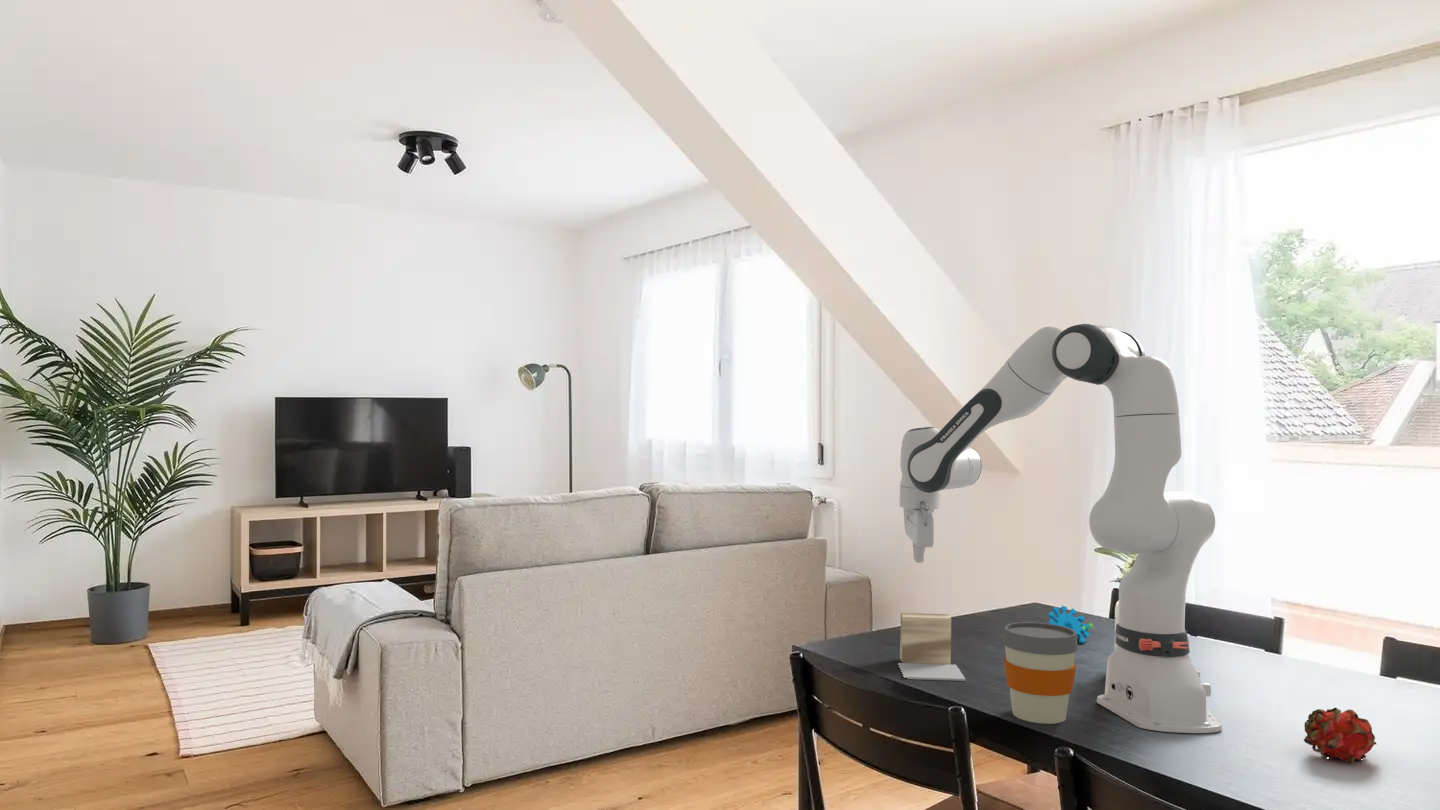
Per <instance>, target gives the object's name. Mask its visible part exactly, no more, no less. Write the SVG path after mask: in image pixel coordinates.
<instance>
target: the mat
mask: <svg viewBox="0 0 1440 810" xmlns="http://www.w3.org/2000/svg"><path fill="white" fill-rule="evenodd" d="M898 665H899V666H898ZM897 666H898V668H900V669H899V671H900V670H901V671H900V672H902V673H901V675H902V674H903V675H902V677H904V678H907V679H906V680H924V681H925V680H927V681H928V680H929V681H952V682H955V681H957V682H966V681H967V680H966V678H965V676H964V674H963V673H962V671H961V669H960V668H959V667H958V665H957V664H952V663H951V664H919V663H901V662H898V663H897ZM904 678H903V679H904Z"/></svg>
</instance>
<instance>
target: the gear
mask: <svg viewBox="0 0 1440 810" xmlns="http://www.w3.org/2000/svg"><path fill="white" fill-rule="evenodd" d="M1067 610H1068V607H1067V606H1065V605H1062V606H1060V608H1059V607H1058V606H1054V607H1053V608H1052V610H1051V611H1050V612H1048V614H1047V617H1048V618H1049V620H1048V622H1047V624H1054V625H1059V626H1063V627H1067V628H1070V629H1072V630H1074V631H1075V632H1076V634H1077V639H1078V642H1079V644H1084V643H1086V641H1087V640H1086V639H1087V638H1089V637H1090V635H1091V633H1090V632H1089V631H1090V630H1091V629H1092V628H1093V626H1094V625H1093V623H1092V622H1089V623H1083V622H1084V621H1085V620H1086V619H1085V617H1084V616H1083V615H1079V616H1075V615H1076V614H1077V611H1076V610H1075V609H1074V608H1071V610H1070V611H1069V613H1067V612H1066V611H1067ZM1059 611H1061V613H1060V612H1059Z"/></svg>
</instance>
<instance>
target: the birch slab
mask: <svg viewBox="0 0 1440 810" xmlns="http://www.w3.org/2000/svg"><path fill="white" fill-rule="evenodd" d="M899 630H900V634H899V635H900V636H899V637H900V638H899V640H900V641H899V644H900V646H899V647H900V648H899V660H900V659H901V660H900V662H901V661H902V663H919V664H951V665H952V663H951V661H952V617H951V616H950V614H948V613H921V612H919V613H918V612H917V613H916V612H915V613H914V612H900V629H899Z"/></svg>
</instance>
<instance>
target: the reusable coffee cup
mask: <svg viewBox="0 0 1440 810" xmlns="http://www.w3.org/2000/svg"><path fill="white" fill-rule="evenodd" d="M1003 628H1004V629H1003V636H1002V637H1003V638H1002V644H1003V646H1004V650H1005V657H1004V658H1003V662H1004V670H1005V671H1004V672H1005V680H1006V685H1007V686H1008V688H1009V695H1010V703H1011V711H1012V712H1011V713H1012V714H1013V716H1014V717H1016V718H1018V719H1019V720H1023V721H1025V722H1030V723H1036V724H1047V725H1049V724H1060V723H1063V722H1065V721H1066V719H1067V715H1068V714H1067V712H1068V707H1069V701H1070V699H1069V698H1070V694H1071V693H1072V692H1073V688H1074V683H1075V682H1074V681H1075V675H1076V670H1077V664H1076V663H1075V658H1076V652H1078V650H1079V648H1078V647H1079V646H1078V638H1077V634H1076V632H1075V631H1074V630H1072V629H1070V628H1067V627H1063V626H1059V625H1054V624H1048V622H1047V623H1045V622H1032V621H1030V622H1029V621H1028V622H1026V621H1025V622H1024V621H1023V622H1013V623H1009V624H1006V625H1005V626H1004V627H1003Z"/></svg>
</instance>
